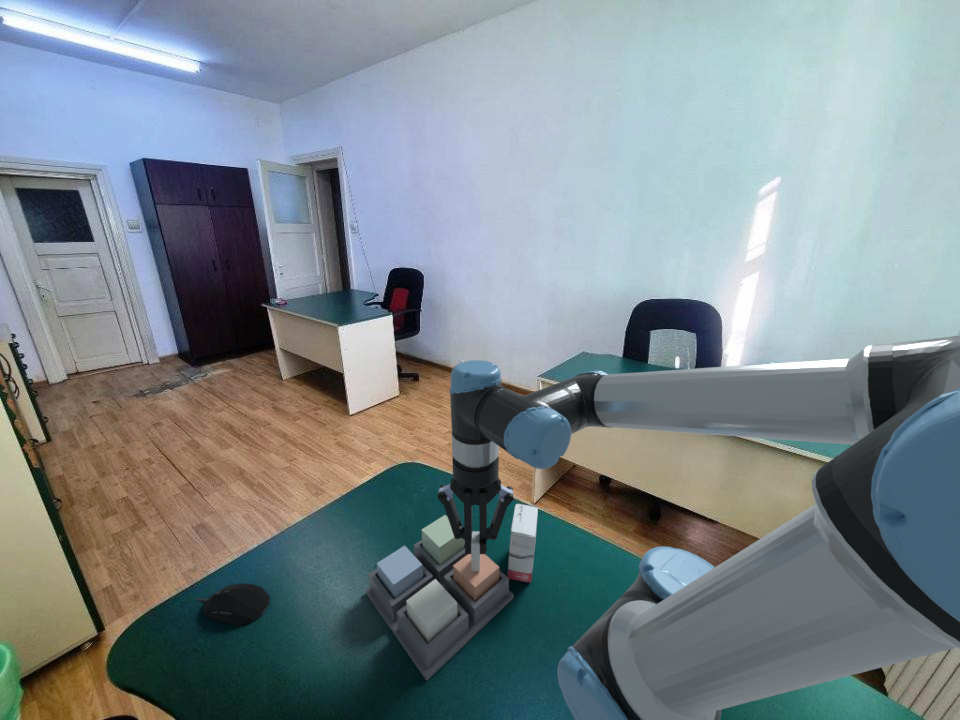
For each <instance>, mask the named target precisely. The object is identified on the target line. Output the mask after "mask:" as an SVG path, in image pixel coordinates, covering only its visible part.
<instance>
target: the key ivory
mask: <svg viewBox="0 0 960 720" xmlns="http://www.w3.org/2000/svg"><path fill="white" fill-rule="evenodd" d="M406 603H407V614H408V619H409V621H410V622H411V623H412V625H413V626H414V627H415V629H416V630H417V631H418V633H419V634H420V635H421V637H422V638H423V639H424V641H425V642H426V643H427V644H429V643H430V642H431V641H432V640H433V639H434V638H435V637H437V636H438V635H439V634H440V633H441V632H442V631H443V630H445V629H446V628H447V627H448V626H449V625H450V624H451V623H453V622H454V621H455V620H456V619H457V618H458V614H457V602H456V601H455V600H454V599H453V597H452V596H451V595H450V594H449V593H448V592H447V591H446V590H445V589H444V588H443V587H442V585H441V584H440V583H439V582H438V581H437V580H436V579H435V580H433V581H432V582H431V583H429V584H428V585H427V586H425V587H424V588H423V589H421V590H420V591H419V592H417V593H416V594H415V595H413V596H412V597H411V598H409V599H408V600H407V601H406Z"/></svg>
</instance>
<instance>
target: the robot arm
mask: <svg viewBox="0 0 960 720" xmlns="http://www.w3.org/2000/svg"><path fill="white" fill-rule="evenodd" d="M502 380H503V379H502V375H501V369H500V368H499V367H498V365H496V363H494V362H491V361H487V360H481V359H480V360H479V359H478V360H477V359H475V360H474V359H473V360H467V361H462V362H460V363H458V364H456V365H455V366H453V368H452V370H451V372H450V389H449V398H450V401H449V402H450V419H451V422H450V423H451V451H452V452H451V454H452V459H451V460H452V478H451V479H450V483H449V484H447V485H445V484H440V485H439V488H438V493H437V496H436V497H437V499H438V501H439V502H440V503H441V504H442V506H443V507H444V510H445V512H446V516H447V517H448V520H449V523H450V526H451V529H452V532H453V535H454V537H455V538H456V539H460V538H462V539H464V540H465V553H466V554H471V571H476V572H480V554H485V555H487V554H486V553H487V541H488V540H491V541H495V540H497V539H498V536H499V532H500V529H501V527H502V524H503V519H504V518H505V515H506V512H507V508H508V507H509V506H510V504H511V503H512V502H513V501H514V488H513V487H512V486H507V487H506V486H505V485H503V484H502V481H501V479H500V477H499V470H500V469H499V465H500V463H499V462H500V458H499V457H500V456H499V454H500V448H501V449H502V450H503V451H505V452H507V453H508V454H509V455H511V456H512V458H514V459H516V460H520V461H522V462H523V463H525V464H527V465H528V466H531V468H534V469H537V470H544V469H550V468H551V467H553V466H554V465H556V464H557V463H558V461H559V459H560V457H564V455H565V453H566V452H567V451H568V449H569V448H568V447H569V445H570V442H571V438H572V435H573V434H575V433H577V432H579V431H581V430H583V429H585V428H589V427H595V428H596V427H597V428H607V429H608V428H609V429H612V428H614V429H627V430H628V429H630V430H631V429H632V430H645V431H656V432H657V431H658V432H668V433H669V432H671V433H683V434H684V433H685V434H699V435H700V434H701V435H712V436H713V435H715V436H726V437H727V436H729V437H741V438H743V437H744V438H754V439H755V438H756V439H766V440H767V439H769V440H783V441H797V442H808V443H809V442H812V443H825V444H827V443H828V444H836V445H838V444H839V445H851V446H849V447H848V448H846V449H845V450H844V451H842V452H841V453H839V454H838V455H836V456H834V457H833V458H831V460H830V461H827V462H826V463H825V464H824V465H822V466H820V467H819V468H818V469H817V470H816V471H815V472H814V474H813V475H812V480H811V489H812V494H813V499H814V503H815V504H813V505H812V506H810V507H808V508H807V509H806V510H803V511H802V512H801V513H799V514H797V515H796V516H795V517H793V518H791V519H789V520H788V521H786V522H785V523H783V524H782V525H780V526H778V527H777V528H775V529H774V530H772V531H770V532H769V533H767V534H766V535H764V536H762V537H761V538H759V539H758V540H756V541H754V542H753V543H751V544H750V545H748V546H747V547H746V548H743V549H742V550H740V551H738V552H737V553H735V554H734V555H732V556H730V557H729V558H727V559H726V560H725V561H722V562H721V563H720V564H718V565H717V566H714V565H713V564H711V563H710V562H708V561H707V560H705V559H704V558H702V557H700V556H698V555H696V554H695V553H692V552H690V551H688V550H684V549H682V548H676V547H672V546H656V547H653V548H650V549H649V550H647V551H646V552H645V553H644V555H643V556H642V559H641V560H640V563H639V564H638V565H639V566H638V575H637V577H636V579H635V581H634V582H633V583H632V584H631V585H630V586H629V587H628V589H627V590H626V591H624V593H623V594H622V595H620V597H619V598H618V599H617V600H616V601H615V602H614V603H613V604H612V605H611V606H610V607H609V608H608V609H607V610H606V611H605V612H604V613H603V614H602V615H601V617H599V618H598V619H597V620H596V621H595V622H594V623H593V624H592V626H590V627H589V629H588V630H586V632H585V633H584V634H583V635H581V637H580V638H578V639H577V641H576V642H575V643H574V644H573V645H572V646H571V645H570V646H568V647H567V651H566V653H565V654H564V655H563V657H561V659H560V660H559V662H558V666H557V680H558V685H559V688H560V690H561V693H562V696H563V699H564V701H565V703H566V705H567V707H568V709H569V711H570V713H571V715H572V717H573V719H574V720H721V717H722V710H724V709H728V708H732V707H736V706H740V705H744V704H747V703H752V702H755V701H759V700H763V699H766V698H770V697H773V696H777V695H781V694H785V693H789V692H793V691H797V690H801V689H804V688H809V687H812V686H816V685H819V684H823V683H824V684H825V683H827V682H831V681H834V680H835V681H836V680H838V679H843V678H846V677H850V676H853V675H858V674H861V673H865V672H869V671H872V670H876V669H880V668H884V667H888V666H892V665H895V664H899V663H903V662H907V661H911V660H914V659H915V660H916V659H918V658H922V657H926V656H930V655H934V654H938V653H941V652H945V651H949V650H952V649H958V650H960V335H954V336H953V335H952V336H945V337H937V338H928V339H920V340H912V341H902V342H891V343H881V344H880V343H879V344H868V345H867V346H865V347H864V348H863V349H861V350H860V351H859V352H858V353H857V354H855V355H854V356H853V357H849V358H835V359H823V360H822V359H821V360H806V361H805V360H804V361H791V362H777V363H775V362H774V363H759V364H758V363H757V364H745V365H729V366H717V367H715V366H714V367H703V368H702V367H698V368H686V369H684V368H683V369H674V370H673V369H672V370H671V369H670V370H669V369H668V370H657V371H644V372H643V371H642V372H641V371H640V372H626V373H623V372H622V373H610V374H609V373H608V372H607V373H606V372H605V371H602V370H591V371H587V372H586V371H585V372H580V373H578V374H576V375H575V376H573V377H571V378H568V379H565V380H563V381H560V382H557V383H555V384H551V385H550V386H547V387H544V388H541V389H539V390H535V391H533V392H531V393H530V392H529V393H528V394H524V395H523V394H520V393H517V392H515V391H513V390H511V389H508V388H507V387H506V386H503V385H502ZM453 494H454V495H455V496H456V497H457V498H458V499H459V501H460V502H461V503H462V504H463V513H464V514H463V515H464V516H463V518H464V519H463V520H464V523H462V521H461V518H460V515H459V512H458V509H457V508H458V507H457V505H456V502H455V500H454V499H455V498H454V496H453ZM497 495H498V500H497V504H496V507H495V511H494V513H493V515H492V520H491V522H490V525H489V526H487V525H488V523H487V522H488V517H487V512H488V509H487V508H488V504H489V503H491V501H492V500H493V499H494V498H495V497H496V496H497ZM475 505H476V506H478V509H479V511H478V512H479V513H478V514H479V517H478V518H479V520H478V521H479V523H478V524H479V529H478V531H475V530H473V506H475ZM463 525H464V526H463Z"/></svg>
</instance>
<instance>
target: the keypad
mask: <svg viewBox="0 0 960 720" xmlns="http://www.w3.org/2000/svg"><path fill="white" fill-rule="evenodd" d="M408 550H409V551H410V549H409V548H408ZM413 555H414V556H415V557H416V558H417V559H418V560H419V561H420V563H421V564H422V566H423V579H422V580H421V581H419V582H418V583H417V584H415V585H414V586H412V587H411V588H410V589H408V590H407V591H406V592H404V593H403V594H402V595H400V596H399V597H397V598H396V599H395V600H393V598H392V597H391V596H390V594H389V593H388V592H387V590H386V589H385V588H384V586H383V585H382V584H381V582H380V581H379V577H378V569H377V568H376V569H374V570H373V571H371V572H369V573H368V574H367V575H368V582H369V586H368V587H367V588H366V589H365V594H366V596H367V597H368V599H369V600H370V601H371V602H372V604H373V606H374V607H375V609H376V610H377V612H378V613H379V614H380V616H381V617H382V619H383V621H384V622H385V623H386V625H387V626H388V628H389V629H390V630H391V631H392V633H393V634H394V636H395V637H396V639H397V640H398V642H399V643H400V644H401V646H402V648H403V649H404V650H405V652H406V653H407V655H408V656H409V657H410V660H411V661H412V662H413V663H414V665H415V667H416V668H417V669H418V670H419V672H420V674H421V675H422V677H423V678H424V679H425V681H427V682H428V680H429V679H431V677H432V676H433V675H435V674H436V673H437V672H438V671H439V670H440V669H441V668H442V667H443V666H444V665H446V664H447V662H448V661H449V660H451V658H453V657H454V656H455V655H456V654H457V653H458V652H459V651H460V650H461V649H462V648H463V647H464V646H465V645H466V644H467V643H469V641H470V640H472V638H474V636H476V635H477V634H478V632H480V631H481V630H482V629H483V628H484V627H485V626H486V625H488V623H490V622H491V620H492V619H494V618H495V617H496V616H497V615H498V614H499V613H500V612H501V611H502V610H503V609H504V608H505V607H506V606H507V605H508V604H509V603H510V602H511V601H512V600H514V597H515V596H514V595H515V594H514V593H513V592H512V591H510V589H509V588H510V579H509V578H508V575H506V574H504V572H502V571H501V570H500V569H499V582H498V583H497V584H496V585H495V586H494V587H492V588H491V589H490V590H489V591H488V592H487V593H486V594H484V595H483V596H482V597H481V598H480V599H479V600H478V601H476V602H474V601H473V600H472V599H471V598H470V597H469V596H468V595H467V594H466V593H465V592H464V591H463V590H462V589H461V588H460V587H459V586H458V585H457V584H456V583H455V582H454V579H453V565H454V564H456V563H457V562H458V561H460V560H461V559H462V558H464V557H465V556H466V555H468V554H466V553H465V540H464V549H463V550H462V551H460V552H459V553H458V554H456V555H455V556H453V557H452V558H451V559H449V560H448V561H447V562H445V563H444V564H443V565H441V566H439V565H438V564H437V563H436V562H435V561H434V560H433V559H432V558H431V557H430V556H429V555H428V554H427V553H426V552H425V551H424V550H423V545H422V539H420V540H419V541H418V542H416V543H414V544H413ZM435 579H436V580H437V581H438V582H439V583H440V584H441V585H442V587H443V588H444V589H445V590H446V591H447V592H448V593H449V594H450V595H451V596H452V597H453V599H454V600H455V601H456V602H457V614H458V618H457V619H456V620H455V621H454V622H453V623H451V624H450V625H449V626H448V627H447V628H446V629H445V630H443V631H442V632H441V633H440V634H439V635H438V636H437V637H435V638H434V639H433V640H432V641H431V642H430V643H429V644H427V643H426V642H425V641H424V639H423V638H422V637H421V635H420V634H419V633H418V631H417V630H416V629H415V627H414V626H413V625H412V623H411V622H410V621H409V619H408V614H407V603H406V601H407V600H408V599H409V598H411V597H412V596H413V595H415V594H416V593H417V592H419V591H420V590H421V589H423V588H424V587H425V586H427V585H428V584H429V583H431V582H432V581H433V580H435Z"/></svg>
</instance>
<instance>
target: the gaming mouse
mask: <svg viewBox="0 0 960 720" xmlns="http://www.w3.org/2000/svg"><path fill="white" fill-rule="evenodd" d="M270 598H271V597H270V595H269V593H268V592H266V591H265V589H264V588H263V587H261V586H260V585H256V584H253V583H238V584H237V583H236V584H231V585H227V586H224V587H223V588H221V589H220V590H217V591H216V592H215V593H213V594H211V595H210V596H209V598H195V601H199V602H202V603H205V604H204V606H203V609H202V612H203V613H204V615H205V617H206V618H207V619H210V620H213V621H218V622H222V623H225V624H230V625H234V626H241V625H247V624H249V623H251V622H253V621H254V620H255V619H257V618H259V617H260V616H261V615H263V614H264V613H265V611H266V610H267V609H268V607H269V605H270Z"/></svg>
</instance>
